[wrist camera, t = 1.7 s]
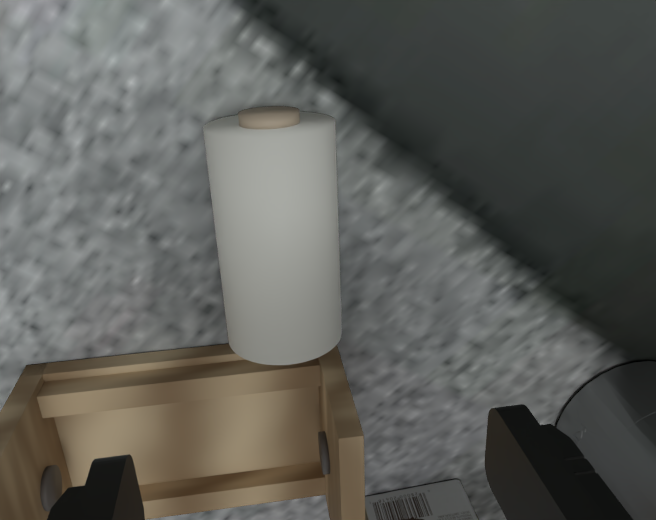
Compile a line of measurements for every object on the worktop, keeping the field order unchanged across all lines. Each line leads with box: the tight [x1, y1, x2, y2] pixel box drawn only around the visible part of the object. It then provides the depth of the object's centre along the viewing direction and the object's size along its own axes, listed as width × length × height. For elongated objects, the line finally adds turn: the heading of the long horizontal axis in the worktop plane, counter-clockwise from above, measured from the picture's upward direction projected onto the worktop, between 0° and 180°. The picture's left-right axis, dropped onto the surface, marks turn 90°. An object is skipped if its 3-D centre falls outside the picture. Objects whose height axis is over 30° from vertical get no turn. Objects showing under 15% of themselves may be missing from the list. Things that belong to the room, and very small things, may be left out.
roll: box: [203, 106, 342, 365], centre depth 26 cm, size 10×5×5 cm, turn 3°
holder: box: [0, 344, 365, 520], centre depth 28 cm, size 15×9×8 cm, turn 92°
